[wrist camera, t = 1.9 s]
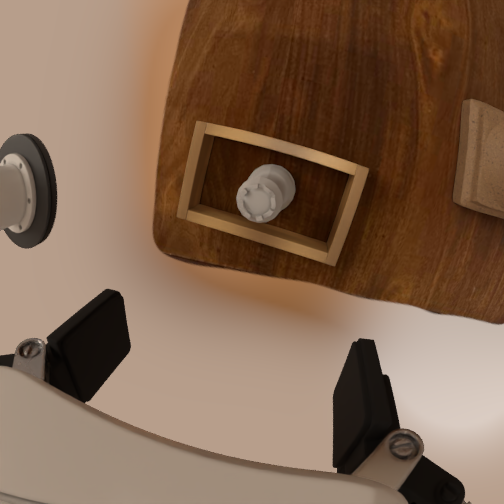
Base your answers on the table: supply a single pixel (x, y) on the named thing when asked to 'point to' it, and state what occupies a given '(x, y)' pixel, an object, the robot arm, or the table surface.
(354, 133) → the table surface
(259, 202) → the rook chess piece
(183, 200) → the rectangular wooden frame
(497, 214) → the candle holder
